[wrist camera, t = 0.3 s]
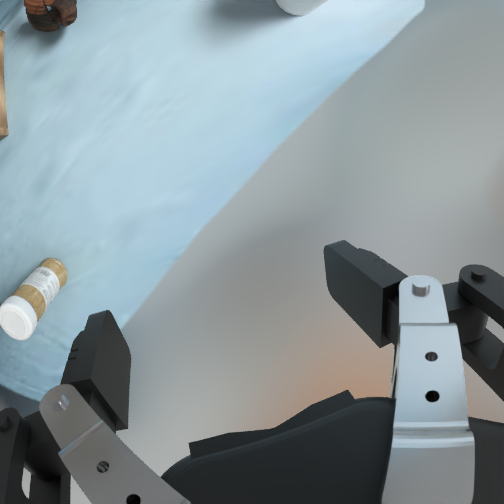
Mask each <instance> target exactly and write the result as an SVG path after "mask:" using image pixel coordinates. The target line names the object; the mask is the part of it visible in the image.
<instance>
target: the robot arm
mask: <svg viewBox="0 0 504 504" xmlns="http://www.w3.org/2000/svg"><path fill="white" fill-rule="evenodd" d="M324 259H325V269H326V280H327V286H328V290H329V292H330V294H331V296H332V298H333V299H334V300H335V301H336V302H337V303H338V304H339V305H340V306H341V307H342V308H343V309H344V310H345V311H346V313H348V315H349V316H350V317H351V318H352V319H353V320H354V321H355V322H356V323H357V324H358V325H359V326H360V327H361V328H362V329H363V331H364V332H365V333H366V334H367V335H368V336H369V337H370V338H371V339H372V340H373V341H374V342H375V343H376V345H377V346H378V347H379V348H381V347H383V346H386V345H388V344H390V343H393V344H394V355H393V367H392V378H391V379H392V380H391V388H390V397H389V398H388V397H366V398H358V399H354V398H353V396H352V395H351V393H350V392H349V390H346V391H344V392H341V393H339V394H337V395H334V396H332V397H330V398H327V399H325V400H322V401H320V402H317V403H315V404H312V405H310V406H309V407H307V408H306V409H304V410H303V411H301V412H300V413H298V414H296V415H295V416H294V417H292V418H290V419H289V420H287V421H285V422H284V423H282V424H280V425H279V426H277V427H275V428H272V429H265V430H256V431H245V432H234V433H226V434H223V435H219V436H215V437H211V438H207V439H203V440H200V441H195V442H191V443H189V448H190V453H191V455H189V456H187V457H185V458H183V459H182V460H180V461H178V462H177V463H175V464H174V465H173V466H171V467H170V468H169V469H168V470H167V471H166V472H165V473H164V474H163V475H162V476H161V477H159V476H158V475H157V474H156V473H155V472H154V471H153V470H151V469H150V468H149V467H148V466H147V465H146V464H145V463H144V462H143V461H142V460H141V459H140V458H139V457H137V455H135V454H134V453H133V452H132V451H131V450H130V449H129V448H128V447H127V446H126V445H125V444H124V443H123V442H122V440H120V438H119V437H118V436H117V435H116V431H117V430H123V429H128V408H129V407H128V406H129V384H130V368H131V354H130V350H129V347H128V345H127V342H126V341H125V339H124V337H123V335H122V333H121V331H120V329H119V327H118V325H117V323H116V321H115V319H114V317H113V315H112V313H111V312H110V311H109V310H106V311H102V312H99V313H95V314H92V315H89V317H88V320H87V323H86V326H85V330H84V331H81V332H80V333H79V335H78V336H77V337H76V338H75V340H74V341H73V344H72V347H71V350H70V351H71V353H69V356H68V361H67V363H66V366H65V370H64V373H63V376H62V380H61V384H60V385H58V386H56V387H54V388H52V389H51V390H49V391H48V392H47V393H46V394H45V395H44V397H43V398H42V400H41V402H40V408H39V409H40V411H38V412H35V413H33V414H31V415H29V416H27V417H24V418H23V416H22V415H21V414H20V413H19V412H18V411H17V410H16V409H15V408H6V409H3V410H2V411H0V504H70V479H71V475H72V476H73V478H74V480H75V481H76V482H77V484H78V485H79V487H80V488H81V490H82V491H83V492H84V494H85V495H86V496H87V498H88V499H89V500H90V502H91V503H92V504H504V423H499V422H493V421H488V420H483V419H478V418H473V417H468V409H467V397H466V385H465V377H464V368H463V360H464V361H465V362H466V363H467V364H468V365H469V366H470V367H471V368H472V369H473V370H474V371H475V372H476V373H477V374H478V375H479V376H480V377H481V378H482V379H483V380H484V381H485V382H486V383H487V384H488V385H489V386H490V387H491V389H493V391H494V392H495V393H496V394H497V395H498V396H499V397H500V398H501V399H502V400H503V401H504V343H503V342H502V341H501V340H499V339H498V338H497V337H496V336H495V335H494V334H492V333H491V332H490V331H489V330H488V329H486V324H487V321H488V317H489V316H490V317H491V318H492V319H494V320H495V321H496V322H497V323H498V324H499V325H501V326H502V327H503V329H504V277H503V276H501V275H499V274H498V273H497V272H495V271H493V270H491V269H490V268H488V267H486V266H483V265H467V266H465V267H463V268H462V269H461V270H460V274H459V281H458V282H455V283H450V284H445V285H441V283H440V282H439V281H438V280H436V279H434V278H433V277H430V276H425V275H414V276H409V277H408V276H407V275H406V274H404V273H403V272H401V271H400V270H398V269H397V268H395V267H394V266H392V265H391V264H389V263H387V262H386V261H385V260H383V259H381V258H380V257H379V256H377V255H376V254H374V253H373V252H371V251H367V250H364V249H360V248H359V249H357V248H355V247H354V246H352V245H351V244H350V243H348V242H347V241H345V240H342V241H339V242H336V243H332V244H329V245H326V246H325V247H324ZM462 359H463V360H462ZM23 468H25V469H27V470H28V471H29V472H30V473H31V483H30V492H29V499H28V498H27V497H26V496H25V494H24V492H23V490H22V476H23Z"/></svg>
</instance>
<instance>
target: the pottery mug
mask: <svg viewBox="0 0 504 504" xmlns="http://www.w3.org/2000/svg"><path fill="white" fill-rule="evenodd" d="M76 4H77V0H24V6H25V7H26V14H27V18H28V21H29V22H30V23H31V25H32V27H33V28H34V29H36V30H38V31H44V32H48V31H54V30H57V29H59V26H58V23H59V24H62V25H63V26H69V25H70V24H72V23H74V21H75V20H76V18H77V8H76ZM46 6H51V8H52V10H51V11H49V10H48V9H47V7H46Z"/></svg>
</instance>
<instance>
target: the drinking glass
mask: <svg viewBox="0 0 504 504" xmlns="http://www.w3.org/2000/svg"><path fill="white" fill-rule="evenodd" d="M275 1H276V2H277V4H278V5H279V7H280V8H282V9H283V10H284V11H285V12H287V13H290V14H292V15H298V16H303V15H307V14H310V13H311V12H312V11H314V10H315V9H316V8H318V7H319V6H321V5H322V4H323V3H325V2H326V1H328V0H275Z"/></svg>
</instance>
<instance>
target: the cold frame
mask: <svg viewBox="0 0 504 504" xmlns="http://www.w3.org/2000/svg"><path fill="white" fill-rule="evenodd" d="M7 135H9V134H8V125H7V116H6V105H5V90H4V32H3V31H1V30H0V138H2V137H5V136H7Z"/></svg>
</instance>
